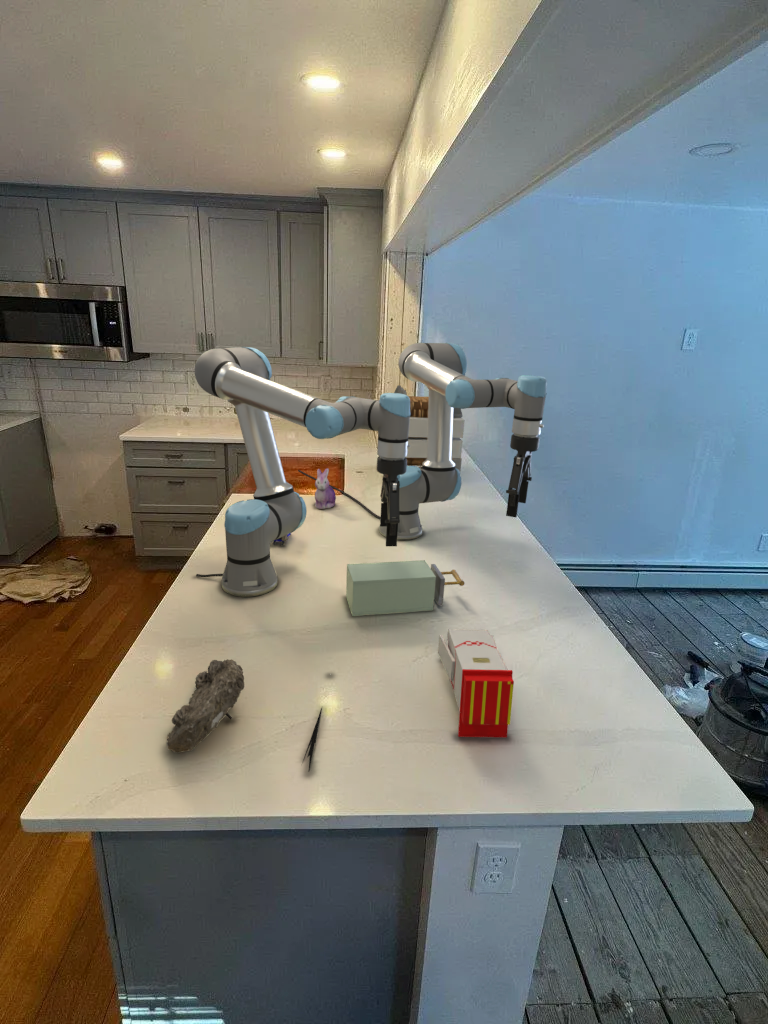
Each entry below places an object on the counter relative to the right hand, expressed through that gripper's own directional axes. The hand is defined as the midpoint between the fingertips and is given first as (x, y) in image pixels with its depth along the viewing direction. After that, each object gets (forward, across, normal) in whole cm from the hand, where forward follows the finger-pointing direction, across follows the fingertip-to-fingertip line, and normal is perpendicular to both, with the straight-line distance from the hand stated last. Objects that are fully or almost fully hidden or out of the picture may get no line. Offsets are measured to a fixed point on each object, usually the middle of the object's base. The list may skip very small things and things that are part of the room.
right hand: (516, 509), depth 160 cm
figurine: (+23, +32, +79) cm, 89 cm away
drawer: (+22, -25, +21) cm, 39 cm away
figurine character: (+23, -5, +75) cm, 79 cm away
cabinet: (+23, -28, +26) cm, 45 cm away
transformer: (+23, +97, +64) cm, 118 cm away
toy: (+23, -55, -4) cm, 60 cm away
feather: (+23, -76, +20) cm, 82 cm away
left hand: (+4, -26, +28) cm, 39 cm away
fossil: (+23, -85, +38) cm, 96 cm away
